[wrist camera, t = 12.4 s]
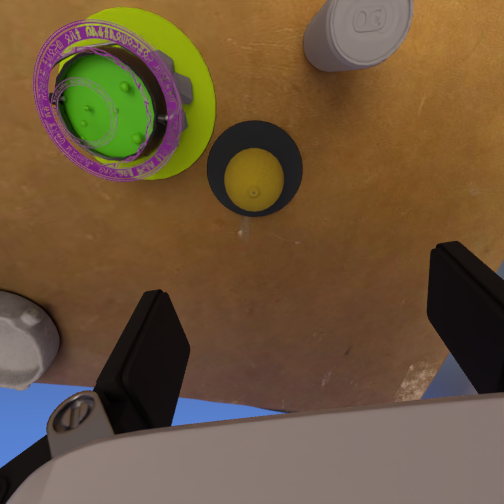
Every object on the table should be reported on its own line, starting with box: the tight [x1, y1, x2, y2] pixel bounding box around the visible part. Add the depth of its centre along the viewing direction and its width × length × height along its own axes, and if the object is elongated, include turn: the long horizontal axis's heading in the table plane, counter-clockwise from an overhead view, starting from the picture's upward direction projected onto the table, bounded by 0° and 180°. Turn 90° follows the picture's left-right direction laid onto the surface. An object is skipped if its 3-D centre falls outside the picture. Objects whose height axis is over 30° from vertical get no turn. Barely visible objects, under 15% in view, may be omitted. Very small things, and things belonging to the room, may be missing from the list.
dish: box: [0, 291, 59, 391], centre depth 43 cm, size 14×14×5 cm
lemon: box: [224, 148, 284, 212], centre depth 30 cm, size 6×6×8 cm
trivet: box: [207, 120, 302, 217], centre depth 34 cm, size 10×10×1 cm
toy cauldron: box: [33, 7, 216, 182], centre depth 26 cm, size 15×15×11 cm
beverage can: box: [303, 0, 413, 72], centre depth 23 cm, size 5×5×12 cm
